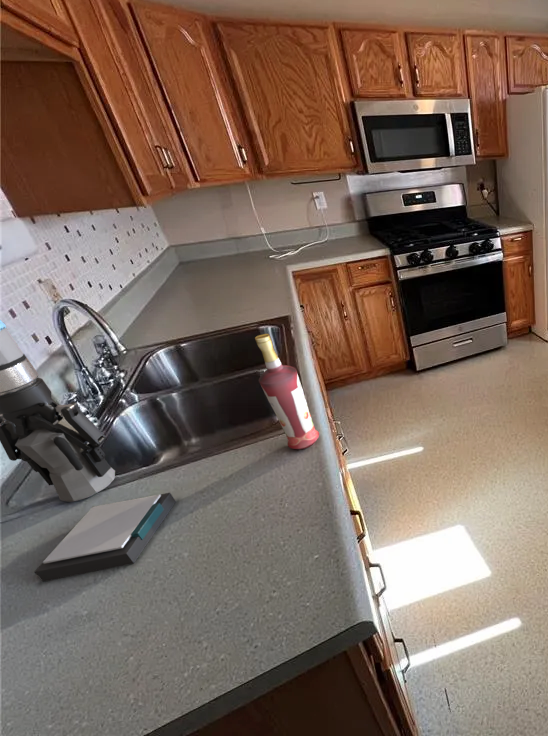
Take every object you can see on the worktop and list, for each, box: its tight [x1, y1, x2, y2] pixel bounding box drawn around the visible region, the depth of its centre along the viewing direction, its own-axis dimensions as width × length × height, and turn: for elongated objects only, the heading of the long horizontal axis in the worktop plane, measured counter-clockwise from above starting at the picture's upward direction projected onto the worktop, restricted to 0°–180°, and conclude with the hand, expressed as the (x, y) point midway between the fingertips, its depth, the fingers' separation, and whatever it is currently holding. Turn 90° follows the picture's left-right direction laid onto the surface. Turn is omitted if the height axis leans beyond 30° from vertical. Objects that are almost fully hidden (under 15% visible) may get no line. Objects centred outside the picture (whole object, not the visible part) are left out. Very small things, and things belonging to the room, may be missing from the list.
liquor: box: [254, 333, 320, 450], centre depth 91 cm, size 7×7×28 cm
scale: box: [33, 492, 177, 582], centre depth 76 cm, size 14×14×3 cm
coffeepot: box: [15, 420, 116, 503], centre depth 84 cm, size 15×9×18 cm, turn 59°
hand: (80, 476), depth 87 cm, fingers closed on coffeepot, 8 cm apart
